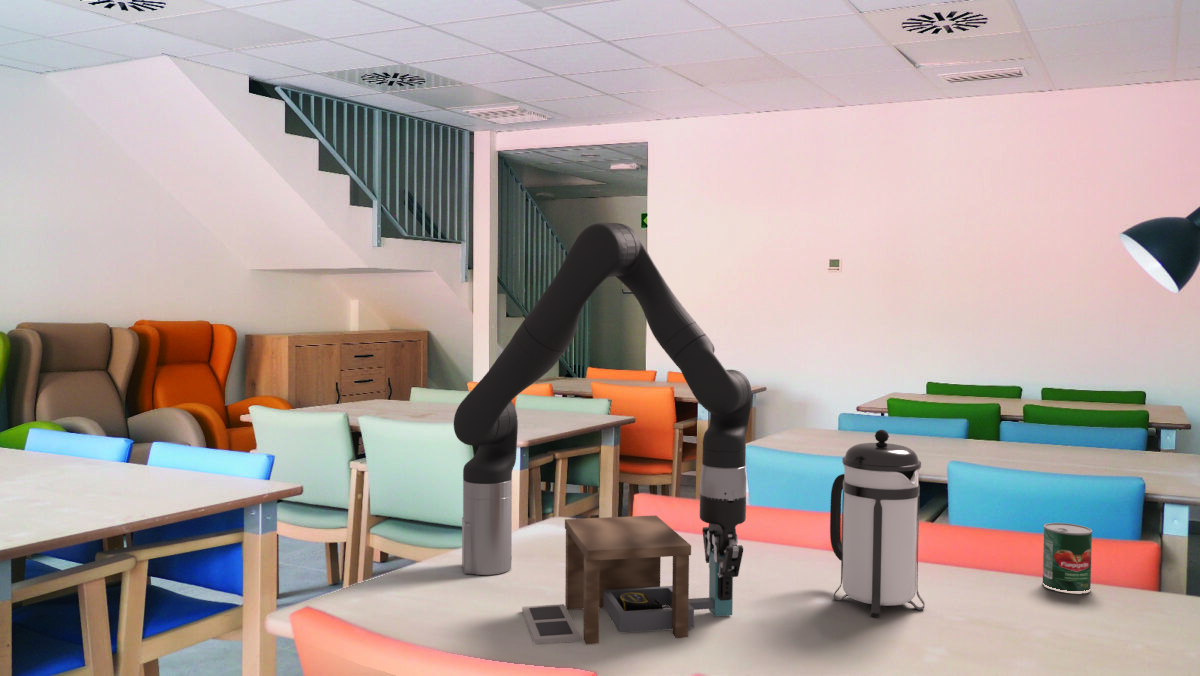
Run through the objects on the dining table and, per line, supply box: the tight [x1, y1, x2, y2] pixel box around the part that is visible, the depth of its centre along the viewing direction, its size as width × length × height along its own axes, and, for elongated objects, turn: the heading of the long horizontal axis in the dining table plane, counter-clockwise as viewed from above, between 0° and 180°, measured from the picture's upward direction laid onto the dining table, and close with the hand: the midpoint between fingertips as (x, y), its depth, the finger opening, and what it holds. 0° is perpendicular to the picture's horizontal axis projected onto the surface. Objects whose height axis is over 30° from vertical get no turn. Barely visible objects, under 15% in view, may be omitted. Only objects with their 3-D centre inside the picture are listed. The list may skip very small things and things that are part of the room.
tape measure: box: [617, 592, 664, 611], centre depth 151 cm, size 7×7×4 cm
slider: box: [602, 551, 734, 634], centre depth 152 cm, size 20×12×10 cm, turn 102°
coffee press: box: [829, 429, 925, 618], centre depth 160 cm, size 17×16×30 cm
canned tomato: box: [1042, 522, 1093, 591], centre depth 170 cm, size 8×8×11 cm
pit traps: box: [521, 603, 582, 645], centre depth 148 cm, size 7×15×1 cm, turn 12°
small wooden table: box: [564, 515, 692, 645], centre depth 151 cm, size 16×20×14 cm
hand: (720, 595), depth 154 cm, fingers closed on slider, 3 cm apart
